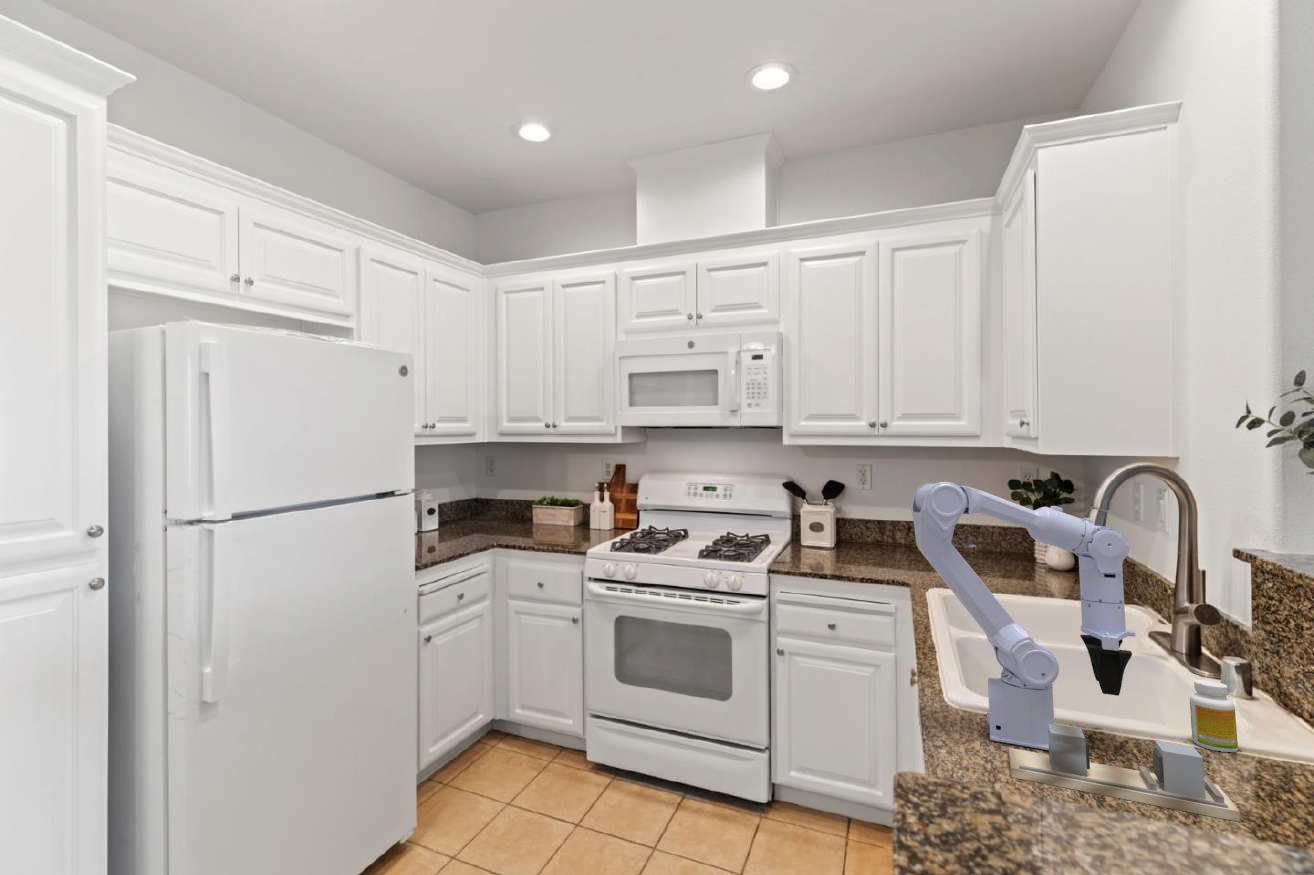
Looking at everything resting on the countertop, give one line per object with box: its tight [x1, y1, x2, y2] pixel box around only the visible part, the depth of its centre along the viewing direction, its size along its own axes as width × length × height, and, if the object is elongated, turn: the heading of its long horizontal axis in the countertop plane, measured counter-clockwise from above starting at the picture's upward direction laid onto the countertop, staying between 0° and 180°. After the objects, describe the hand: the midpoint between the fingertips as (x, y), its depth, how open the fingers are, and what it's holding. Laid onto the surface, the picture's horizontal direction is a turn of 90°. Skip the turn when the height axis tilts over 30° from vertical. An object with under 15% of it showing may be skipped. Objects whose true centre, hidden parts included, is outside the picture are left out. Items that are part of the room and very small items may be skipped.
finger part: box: [1151, 740, 1205, 799], centre depth 80 cm, size 4×4×5 cm
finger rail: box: [1008, 724, 1242, 823], centre depth 83 cm, size 24×8×6 cm, turn 62°
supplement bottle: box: [1189, 679, 1239, 753], centre depth 98 cm, size 5×5×10 cm
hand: (1107, 687), depth 97 cm, fingers open, 7 cm apart
